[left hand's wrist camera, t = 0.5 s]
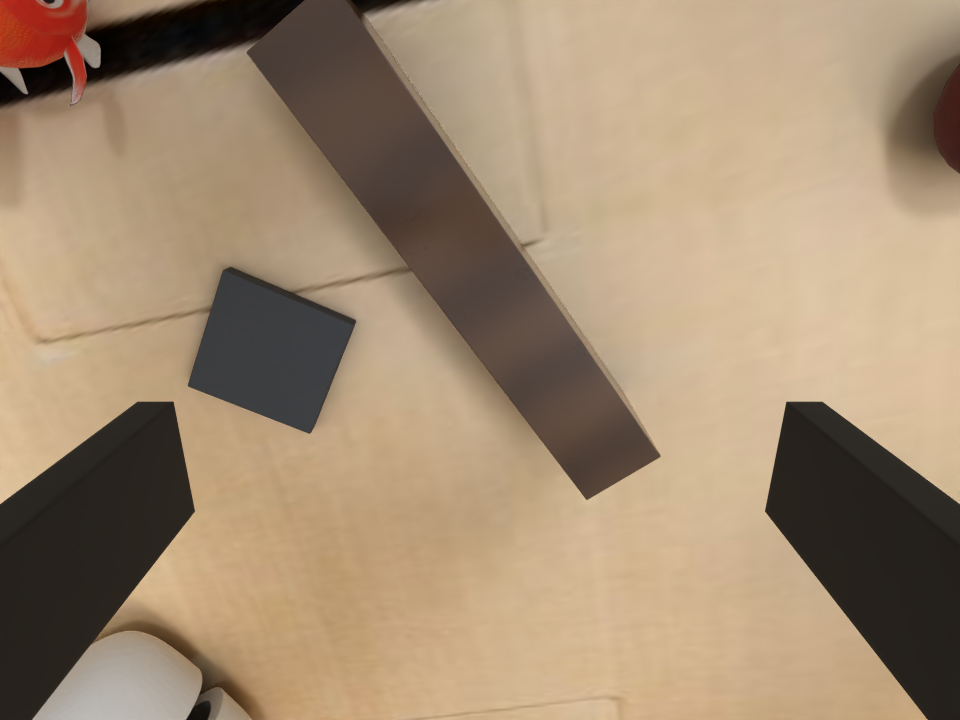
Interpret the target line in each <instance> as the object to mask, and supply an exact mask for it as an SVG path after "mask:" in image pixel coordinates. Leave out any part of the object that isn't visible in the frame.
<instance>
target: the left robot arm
mask: <svg viewBox="0 0 960 720" xmlns="http://www.w3.org/2000/svg"><path fill="white" fill-rule="evenodd" d="M194 512H195V509H194V504H193V499H192V494H191V489H190V484H189V479H188V474H187V468H186V463H185V458H184V453H183V448H182V443H181V438H180V433H179V428H178V422H177V417H176V412H175V407H174V402H137V403H135V404H134V405H133V406H131V407H130V408H129V409H127V410H126V411H125V412H123V413H122V414H121V415H119V416H118V417H117V418H115V419H114V420H113V421H111V422H110V423H109V424H107V425H106V426H105V427H103V428H102V429H101V430H99V431H98V432H97V433H95V434H94V435H92V436H91V437H90V438H88V439H87V440H86V441H84V442H83V443H82V444H80V445H79V446H78V447H76V448H75V449H74V450H72V451H71V452H70V453H68V454H67V455H66V456H64V457H63V458H62V459H60V460H59V461H58V462H56V463H55V464H54V465H52V466H51V467H50V468H48V469H47V470H46V471H44V472H43V473H42V474H40V475H39V476H38V477H36V478H35V479H33V480H32V481H31V482H29V483H28V484H27V485H25V486H24V487H23V488H21V489H20V490H19V491H17V492H16V493H15V494H13V495H12V496H11V497H9V498H8V499H7V500H5V501H4V502H3V503H1V504H0V720H32V719H33V718H34V717H35V715H36V714H37V713H38V712H39V710H40V709H41V708H42V706H43V705H44V704H45V703H46V701H47V700H48V699H49V698H50V696H51V695H52V694H53V692H54V691H55V690H56V689H57V687H58V686H59V685H60V683H61V682H62V681H63V680H64V678H65V677H66V676H67V674H68V673H69V672H70V671H71V669H72V668H73V667H74V666H75V664H76V663H77V662H78V660H79V659H80V658H81V657H82V655H83V654H84V653H85V651H86V650H87V649H88V648H89V646H90V645H91V644H92V642H93V641H94V640H95V639H96V637H97V636H98V635H99V634H100V632H101V631H102V630H103V628H104V627H105V626H106V625H107V623H108V622H109V621H110V619H111V618H112V617H113V616H114V614H115V613H116V612H117V610H118V609H119V608H120V607H121V605H122V604H123V603H124V602H125V600H126V599H127V598H128V596H129V595H130V594H131V593H132V591H133V590H134V589H135V587H136V586H137V585H138V584H139V582H140V581H141V580H142V578H143V577H144V576H145V575H146V573H147V572H148V571H149V570H150V568H151V567H152V566H153V564H154V563H155V562H156V561H157V559H158V558H159V557H160V555H161V554H162V553H163V552H164V550H165V549H166V548H167V546H168V545H169V544H170V543H171V541H172V540H173V539H174V538H175V536H176V535H177V534H178V532H179V531H180V530H181V529H182V527H183V526H184V525H185V523H186V522H187V521H188V520H189V518H190V517H191V516H192V514H193V513H194ZM765 512H766V513H767V514H768V516H769V517H770V518H771V520H772V521H773V522H774V523H775V525H776V526H777V527H778V529H779V530H780V531H781V532H782V534H783V535H784V536H785V538H786V539H787V540H788V541H789V543H790V544H791V545H792V546H793V548H794V549H795V550H796V552H797V553H798V554H799V555H800V557H801V558H802V559H803V561H804V562H805V563H806V564H807V566H808V567H809V568H810V570H811V571H812V572H813V573H814V575H815V576H816V577H817V578H818V580H819V581H820V582H821V584H822V585H823V586H824V587H825V589H826V590H827V591H828V593H829V594H830V595H831V596H832V598H833V599H834V600H835V602H836V603H837V604H838V605H839V607H840V608H841V609H842V610H843V612H844V613H845V614H846V616H847V617H848V618H849V619H850V621H851V622H852V623H853V625H854V626H855V627H856V628H857V630H858V631H859V632H860V634H861V635H862V636H863V637H864V639H865V640H866V641H867V642H868V644H869V645H870V646H871V648H872V649H873V650H874V651H875V653H876V654H877V655H878V657H879V658H880V659H881V660H882V662H883V663H884V664H885V666H886V667H887V668H888V669H889V671H890V672H891V673H892V674H893V676H894V677H895V678H896V680H897V681H898V682H899V683H900V685H901V686H902V687H903V689H904V690H905V691H906V692H907V694H908V695H909V696H910V698H911V699H912V700H913V701H914V703H915V704H916V705H917V706H918V708H919V709H920V710H921V712H922V713H923V714H924V715H925V717H926V718H927V719H928V720H960V504H959V503H957V502H956V501H955V500H953V499H952V498H951V497H949V496H948V495H947V494H945V493H944V492H943V491H941V490H940V489H939V488H937V487H936V486H935V485H933V484H932V483H931V482H929V481H928V480H926V479H925V478H924V477H922V476H921V475H920V474H918V473H917V472H916V471H914V470H913V469H912V468H910V467H909V466H908V465H906V464H905V463H904V462H902V461H901V460H900V459H898V458H897V457H896V456H894V455H893V454H892V453H890V452H889V451H888V450H886V449H885V448H884V447H882V446H881V445H880V444H878V443H877V442H876V441H874V440H873V439H872V438H870V437H869V436H868V435H866V434H865V433H863V432H862V431H861V430H859V429H858V428H857V427H855V426H854V425H853V424H851V423H850V422H849V421H847V420H846V419H845V418H843V417H842V416H841V415H839V414H838V413H837V412H835V411H834V410H833V409H831V408H830V407H829V406H827V405H826V404H825V403H823V402H786V407H785V412H784V417H783V422H782V428H781V433H780V438H779V443H778V448H777V453H776V458H775V463H774V468H773V474H772V479H771V484H770V489H769V494H768V499H767V504H766V509H765Z"/></svg>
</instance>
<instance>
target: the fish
mask: <svg viewBox="0 0 960 720" xmlns="http://www.w3.org/2000/svg"><path fill="white" fill-rule="evenodd" d="M88 16H89V2H88V0H0V72H1V73H2V74H3V75H5V76H6V77H7V78H8V79H9V80H10V81H11V82H12V83H13V84H14V85H15V86H16V87H17V88H18V89H19V90H20V91H21V92H23V93H24V94H28V92H27V89H26V87H25V84H24V81H23V78H22V75H21V73H20V71H19V69H18V68H30V67H41V66H44V65H47V64H49V63H51V62H54V61H56V60H58V59H60V58H62V57H64V58H65V60H66V63H67V65H68V67H69V69H70V72H71V74H72V78H73V87H72V97H71V102H72V104H71V105H70V106H72V105H74V104H76V103H77V102H79V101H80V100H81V97H82V95H83V91H84V89H85V86H86V79H87V75H86V69H85V64H84V60H85V61H86V62H87V63H88V64H89V65H90V66H91V67H93V68H98V67H99V66H100V59H101V49H100V46H99V44H98V43H97V42H96V41H94V40H93V39H91V38H89V37H88V36H87V35H85V31H86V26H87V22H88Z"/></svg>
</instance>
